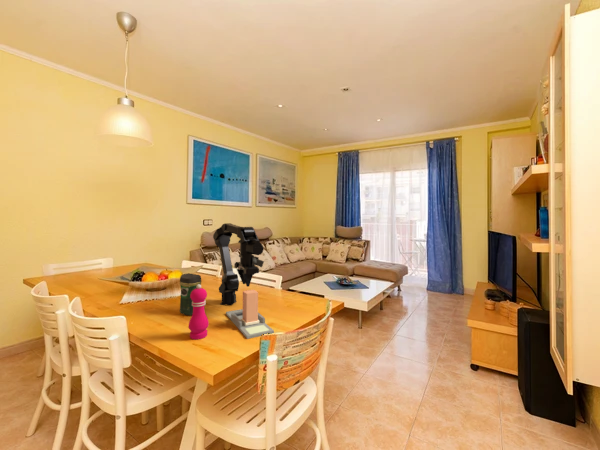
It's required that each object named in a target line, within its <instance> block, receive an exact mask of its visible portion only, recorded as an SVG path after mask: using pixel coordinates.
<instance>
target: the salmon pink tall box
mask: <svg viewBox="0 0 600 450" xmlns="http://www.w3.org/2000/svg"><path fill="white" fill-rule="evenodd" d="M242 309H243V318H242V319H241V321H242V323H243V324H244V325H245V326H248V325H253V324H258V323H259V320H258V313H259V292H258V291H257V290H255V289H248V290H243V291H242Z"/></svg>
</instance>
